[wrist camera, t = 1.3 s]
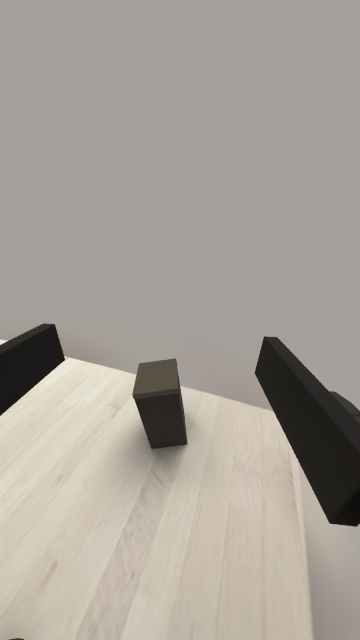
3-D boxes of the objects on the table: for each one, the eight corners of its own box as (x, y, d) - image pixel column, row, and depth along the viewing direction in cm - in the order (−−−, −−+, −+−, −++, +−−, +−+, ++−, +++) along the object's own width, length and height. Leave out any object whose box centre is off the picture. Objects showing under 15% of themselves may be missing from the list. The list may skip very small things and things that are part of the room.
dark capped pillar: (187, 444, 23) (178, 388, 18) (151, 449, 23) (131, 394, 18) (184, 410, 28) (176, 358, 23) (153, 414, 28) (138, 363, 23)
